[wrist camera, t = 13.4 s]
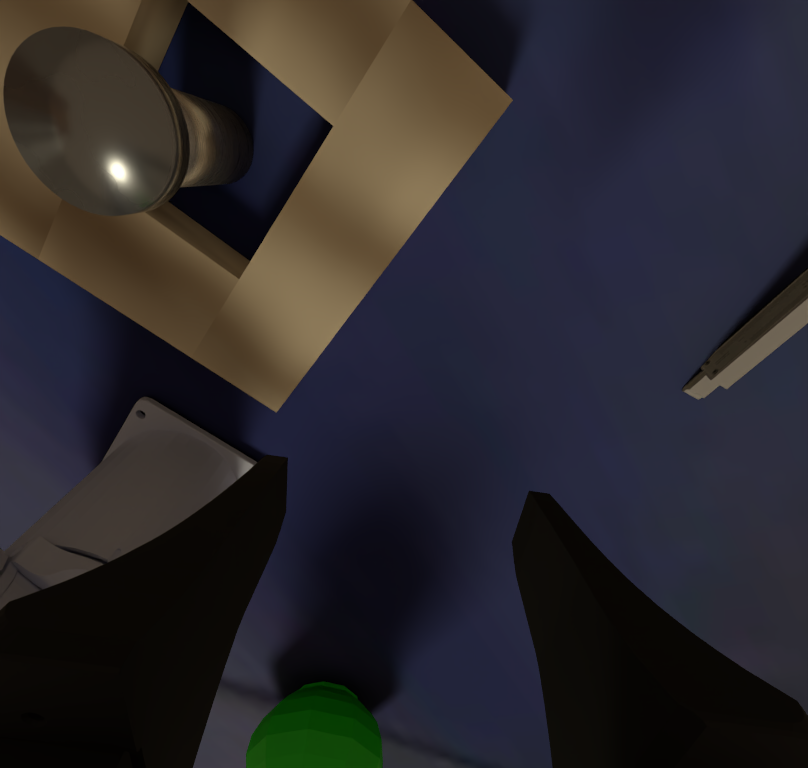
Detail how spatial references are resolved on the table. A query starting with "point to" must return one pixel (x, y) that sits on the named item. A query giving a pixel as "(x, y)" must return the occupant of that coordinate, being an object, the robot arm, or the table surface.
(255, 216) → the table surface
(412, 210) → the square wooden frame
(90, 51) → the steel pin
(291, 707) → the plastic bottle
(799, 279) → the caliper
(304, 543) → the table surface
